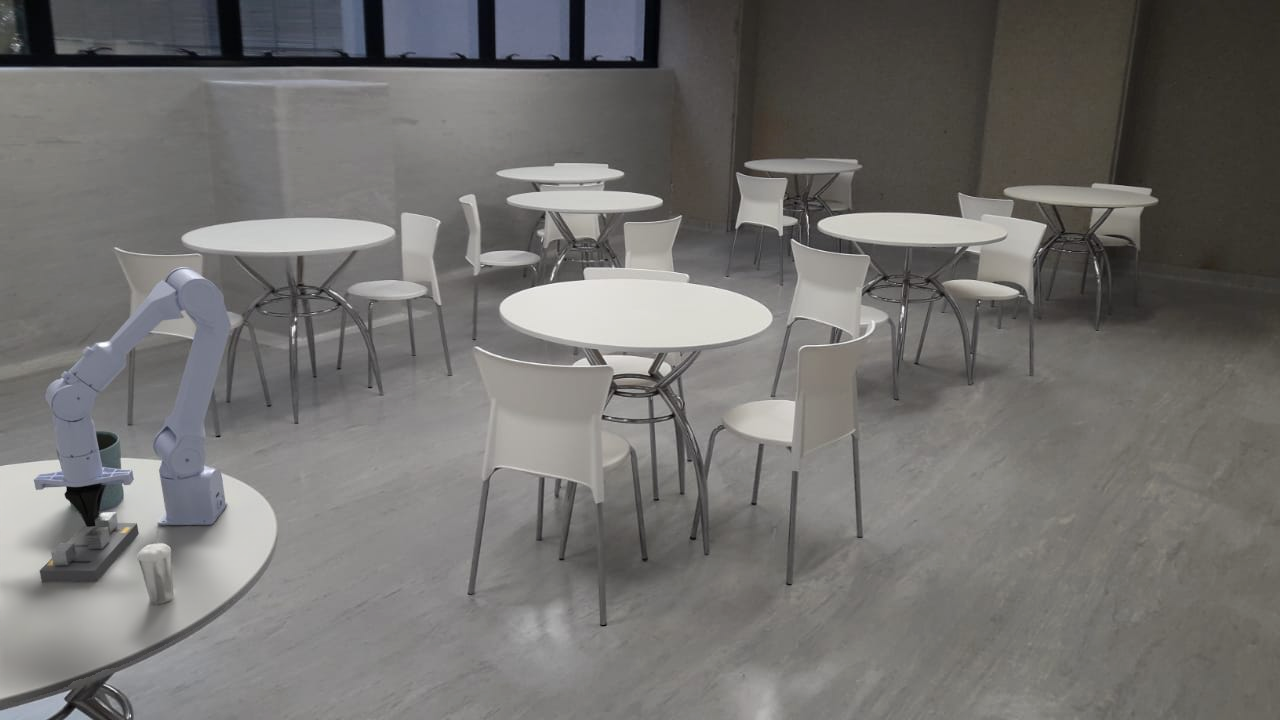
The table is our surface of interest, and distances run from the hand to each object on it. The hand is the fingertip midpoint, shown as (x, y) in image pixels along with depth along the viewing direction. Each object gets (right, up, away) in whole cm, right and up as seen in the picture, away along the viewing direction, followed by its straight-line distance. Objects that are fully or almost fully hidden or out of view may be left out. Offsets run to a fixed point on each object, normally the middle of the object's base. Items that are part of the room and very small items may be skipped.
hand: (93, 523), depth 167 cm
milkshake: (+19, -9, -14) cm, 25 cm away
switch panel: (+2, -5, -4) cm, 6 cm away
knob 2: (+2, -1, +1) cm, 3 cm away
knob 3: (+3, -3, -4) cm, 6 cm away
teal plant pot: (-7, +2, +14) cm, 16 cm away
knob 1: (+1, -5, -9) cm, 10 cm away
